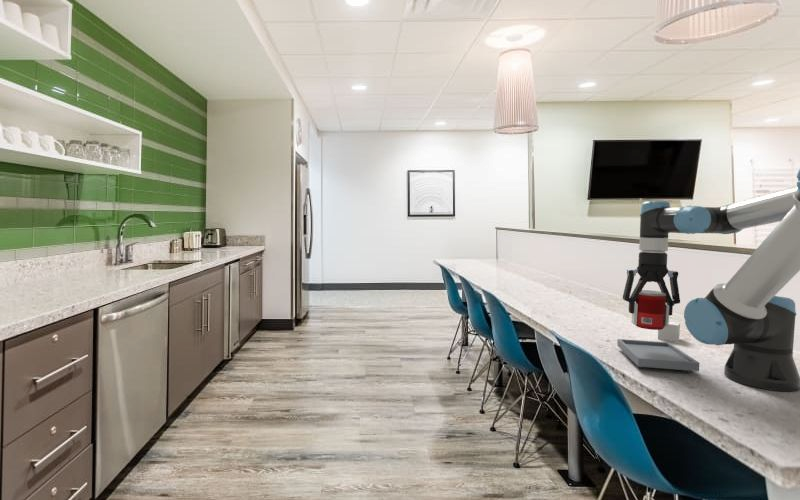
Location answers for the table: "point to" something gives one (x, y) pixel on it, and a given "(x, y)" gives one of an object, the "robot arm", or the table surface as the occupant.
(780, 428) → the table surface
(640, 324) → the canned food
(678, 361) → the grey tray
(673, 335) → the light grey cube
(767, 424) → the table surface
